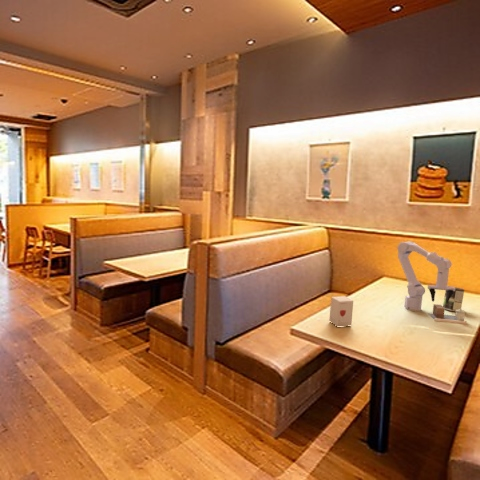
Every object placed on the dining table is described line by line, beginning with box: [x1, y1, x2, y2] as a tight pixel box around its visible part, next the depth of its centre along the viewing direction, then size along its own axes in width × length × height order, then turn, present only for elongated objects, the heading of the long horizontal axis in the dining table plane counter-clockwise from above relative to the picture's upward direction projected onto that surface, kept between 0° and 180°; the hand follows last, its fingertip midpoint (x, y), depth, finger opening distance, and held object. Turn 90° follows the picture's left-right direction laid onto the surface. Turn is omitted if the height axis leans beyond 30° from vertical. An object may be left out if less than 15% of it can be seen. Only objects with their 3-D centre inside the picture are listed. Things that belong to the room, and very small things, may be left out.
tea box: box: [432, 303, 446, 318], centre depth 217 cm, size 7×4×6 cm, turn 168°
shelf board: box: [428, 312, 468, 325], centre depth 214 cm, size 16×13×2 cm
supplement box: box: [328, 295, 354, 327], centre depth 201 cm, size 9×9×15 cm
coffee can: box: [442, 285, 465, 313], centre depth 230 cm, size 10×10×14 cm
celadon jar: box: [455, 308, 466, 321], centre depth 210 cm, size 5×5×7 cm
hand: (439, 301), depth 216 cm, fingers open, 7 cm apart
